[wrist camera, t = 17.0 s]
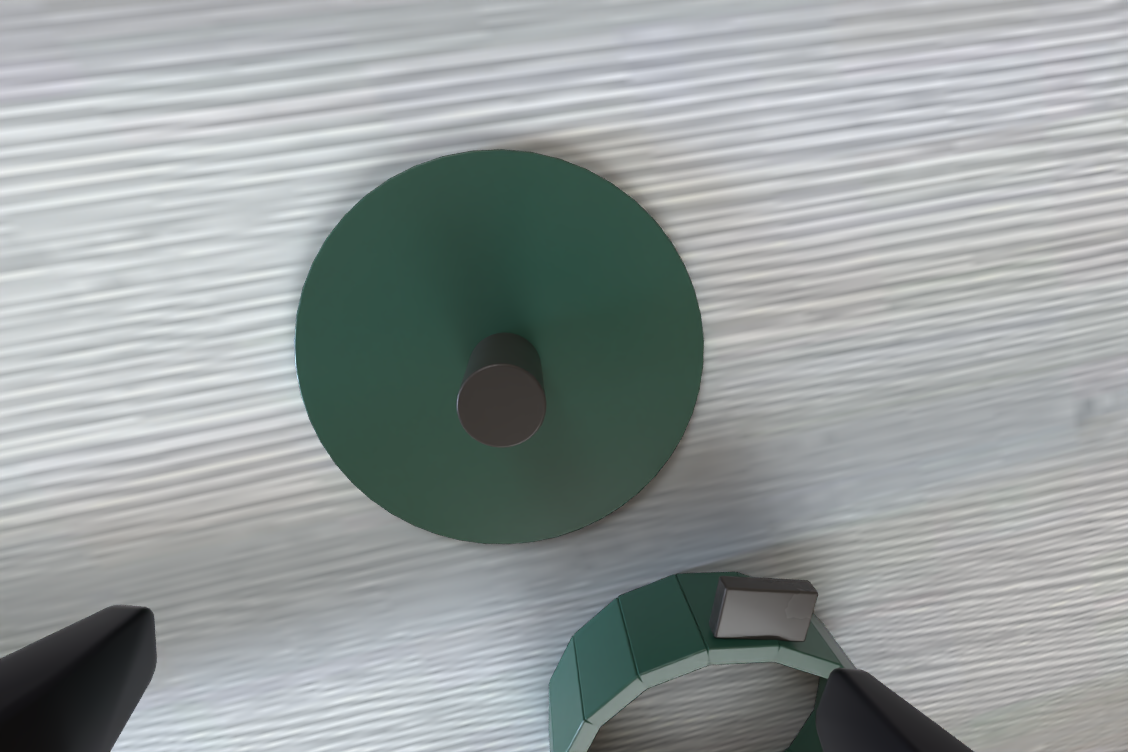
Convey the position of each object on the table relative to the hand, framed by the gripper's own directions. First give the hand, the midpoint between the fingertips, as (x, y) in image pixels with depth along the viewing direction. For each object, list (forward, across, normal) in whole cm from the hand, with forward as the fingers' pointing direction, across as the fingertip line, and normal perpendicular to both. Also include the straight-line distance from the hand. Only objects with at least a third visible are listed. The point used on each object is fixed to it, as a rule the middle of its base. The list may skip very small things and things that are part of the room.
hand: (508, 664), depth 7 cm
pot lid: (+13, +1, 0) cm, 13 cm away
